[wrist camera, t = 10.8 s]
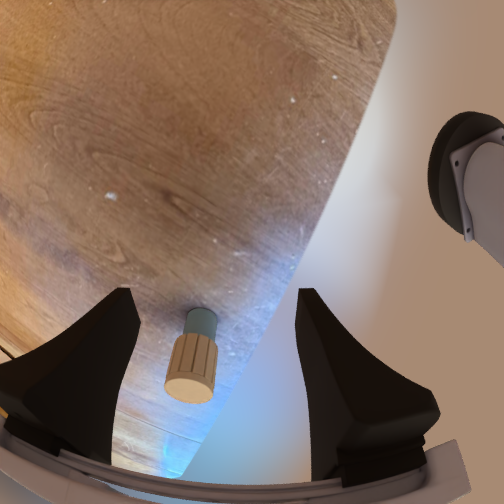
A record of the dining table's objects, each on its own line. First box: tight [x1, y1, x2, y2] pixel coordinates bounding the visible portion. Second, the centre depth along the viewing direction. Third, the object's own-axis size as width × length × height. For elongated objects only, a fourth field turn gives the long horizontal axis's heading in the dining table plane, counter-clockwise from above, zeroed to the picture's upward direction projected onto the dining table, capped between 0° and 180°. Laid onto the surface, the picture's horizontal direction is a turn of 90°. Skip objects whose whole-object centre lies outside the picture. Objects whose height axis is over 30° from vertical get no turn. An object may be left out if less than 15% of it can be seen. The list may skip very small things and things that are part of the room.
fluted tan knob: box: [164, 333, 218, 404], centre depth 20 cm, size 4×4×4 cm
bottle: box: [183, 308, 217, 342], centre depth 23 cm, size 3×3×6 cm
